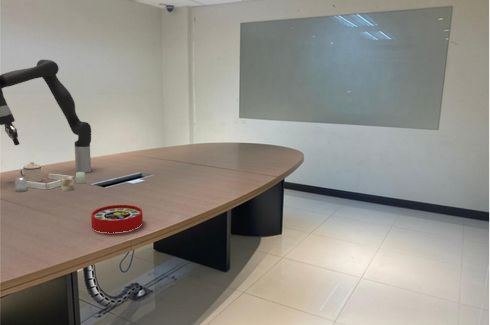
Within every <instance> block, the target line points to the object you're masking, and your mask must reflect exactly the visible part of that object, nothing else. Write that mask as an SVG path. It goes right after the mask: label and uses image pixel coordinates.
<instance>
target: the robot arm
mask: <svg viewBox="0 0 490 325" xmlns="http://www.w3.org/2000/svg"><path fill="white" fill-rule="evenodd" d="M59 69H60V68H59V65H58V63H56V62H55V61H54V60H51V59H40V60H38V61H37V63H36V66H32V67H29V68H23V69H22V68H21V69H17V70H12V71H8V72H5V73H1V74H0V126H4V131H5V133H6V134H7V135H8V138H10V139H11V140H12V142H13V145H14V146H19V145H20V142H19V139H18V136H19V135H18V129H17V128H16V127H15V125H14V124H13V123H14V122H15V121H16V120H15V118H14V115H13V113H12V110H11V108H10V107H9V105H8V103H7V100H6V98H5V96H4V92H3V89H4V88H9V87H13V86H15V85H19V84H22V83H26V82H29V81H32V80H36V79H39V78H41V79H43V80H44V82H45V83H46V85H47V87H48V88H49V90H50V93H51V94H52V96H53V98H54V100H55V101H56V103H57V105H58V107H59V108H60V110H61V112H62V114H63V115H64V117H65V119H66V121H67V123H68V125H69V127H70V131H71V132H72V133H73V134H74V135H76V136H77V140H76V141H74V159H75V161H74V162H75V173H76V172H85V174H86V173H92V160H91V158H92V156H91V143H92V127H91V125H90V123H88V122H87V121H81V120H80V118H79V117H78V114H77V113H76V105H75V104H76V103H75V100H74V98H73V96H72V95H71V93H70V91H69V90H68V89H67V88H66V87H65V85H64V84H63V83H62V82H61V81H60V79H59V78H58V77H57V74H58V72H59Z"/></svg>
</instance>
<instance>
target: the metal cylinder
mask: <svg viewBox="0 0 490 325" xmlns="http://www.w3.org/2000/svg"><path fill="white" fill-rule="evenodd" d="M14 181H15V191H16V192H17V193H23V192H27V191H28V187H27V180H26V177H22V176H17V177H15V178H14Z"/></svg>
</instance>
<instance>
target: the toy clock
mask: <svg viewBox="0 0 490 325" xmlns="http://www.w3.org/2000/svg"><path fill="white" fill-rule="evenodd" d="M90 218H91V229H92V228H93V229H94V230H96V231H100V232H107V233H108V232H109V233H113V232H114V233H115V232H123V231H129V230H132V229H135V228H137V227H139V226H140V225H141V224H142V222H143V209H142V208H141V207H138V206H137V205H133V204H132V205H131V204H130V205H129V204H113V205H107V206H102V207H99V208H96V209H95V210H93V211H92V212H91V216H90ZM142 225H143V224H142Z"/></svg>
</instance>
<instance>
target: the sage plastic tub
mask: <svg viewBox="0 0 490 325" xmlns="http://www.w3.org/2000/svg"><path fill="white" fill-rule="evenodd" d="M85 183H86V173H85V172H76V171H75V184H77V185H79V184H80V185H81V184H85Z"/></svg>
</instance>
